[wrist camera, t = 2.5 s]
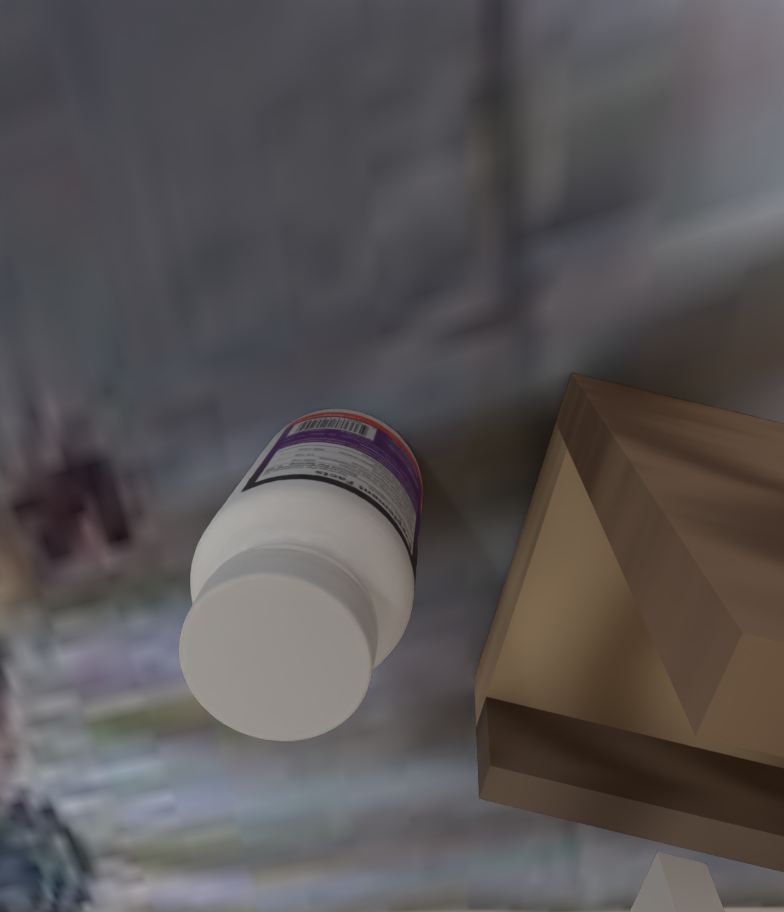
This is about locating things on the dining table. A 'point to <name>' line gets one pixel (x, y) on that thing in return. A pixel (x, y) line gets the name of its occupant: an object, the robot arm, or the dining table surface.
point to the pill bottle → (305, 578)
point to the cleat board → (645, 629)
